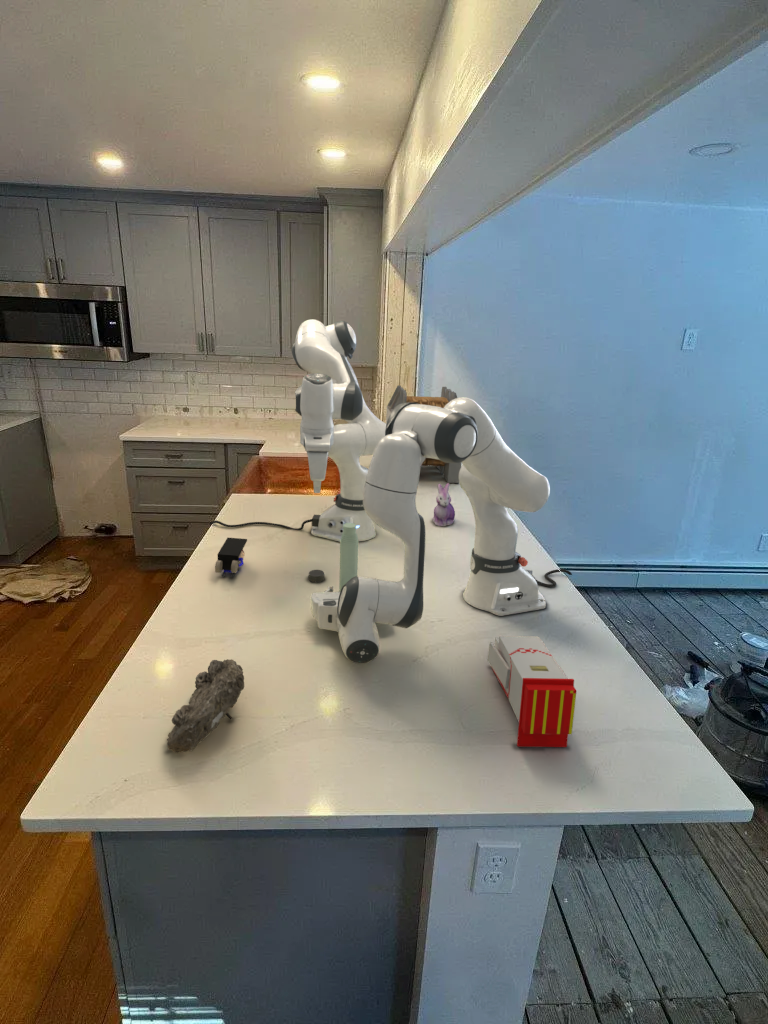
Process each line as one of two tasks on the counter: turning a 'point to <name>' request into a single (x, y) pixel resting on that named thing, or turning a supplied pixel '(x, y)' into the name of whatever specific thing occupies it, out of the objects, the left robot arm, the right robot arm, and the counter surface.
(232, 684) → the fossil
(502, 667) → the toy
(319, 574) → the cap
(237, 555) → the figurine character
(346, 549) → the bottle
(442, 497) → the figurine
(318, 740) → the counter surface
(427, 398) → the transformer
